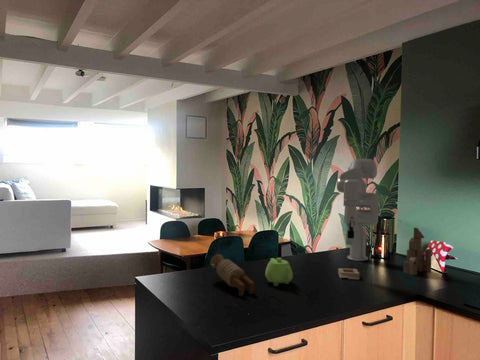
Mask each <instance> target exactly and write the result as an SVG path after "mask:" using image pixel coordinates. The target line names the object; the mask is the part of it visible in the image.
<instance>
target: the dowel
mask: <svg viewBox="0 0 480 360" xmlns="http://www.w3.org/2000/svg"><path fill="white" fill-rule="evenodd" d="M345 225H346V224H345ZM349 225H351V224H349ZM345 231H346V233H345V238H346V239H345V245H349V246H350V245H354V238H348V225H346V230H345Z"/></svg>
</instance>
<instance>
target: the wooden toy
mask: <svg viewBox="0 0 480 360" xmlns="http://www.w3.org/2000/svg"><path fill="white" fill-rule="evenodd" d="M424 238H425V236H424V234H423V233H422V232H421V231H420V229H419V228H418V227H413V237H411V238H410V239H409V241H408V249H406V260H404V261H403V264H402V265H403V267H402V269H403V270H402V272H403V273H404V274H407V275H409V276H410V275H411V276H417V275H418V272H424V273H429V274H430V273H432V249H430V248H425V250H424V254H423V253H422V239H424Z"/></svg>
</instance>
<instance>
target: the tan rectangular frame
mask: <svg viewBox="0 0 480 360" xmlns="http://www.w3.org/2000/svg"><path fill="white" fill-rule="evenodd" d="M337 272H338V276H339V279H341V278H348V279H347V280H360V272H359V271H358V269H357V268H345V267H344V268H341V267H340V268H338V271H337Z"/></svg>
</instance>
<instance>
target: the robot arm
mask: <svg viewBox="0 0 480 360" xmlns="http://www.w3.org/2000/svg"><path fill="white" fill-rule="evenodd" d="M377 174H378V169H377V164H376V162H375V160H374V159H372V158H356V159H352V160H351V162H350V165H349V166H348V167H347V170H346V171H344V172H342V173H341V174H339V176H338V179H337V182H336V190H337V191H338V192H339V193H343V206H344V215H343V216H344V217H343V223H344V224H345V225H348V238H354V245H349V254H348V255H347V256H346V258H347V259H348V260H351V261H355V262H356V261H357V262H360V261H361V262H364V261H368V260H369V257H368V256H366V249H367V248H366V247H367V246H366V242H367V233H366V232H367V231H366V229H365V227H364V226H376V225H378V223H379V196H378V194H377V193H374V192H368V191H367V183H366V182H365V181H364V179H375V178H377ZM357 208H358V209H357ZM359 208H361V209H359ZM362 208H364V209H362ZM366 208H368V209H366ZM349 224H351V225H349ZM363 225H364V226H363Z"/></svg>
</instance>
